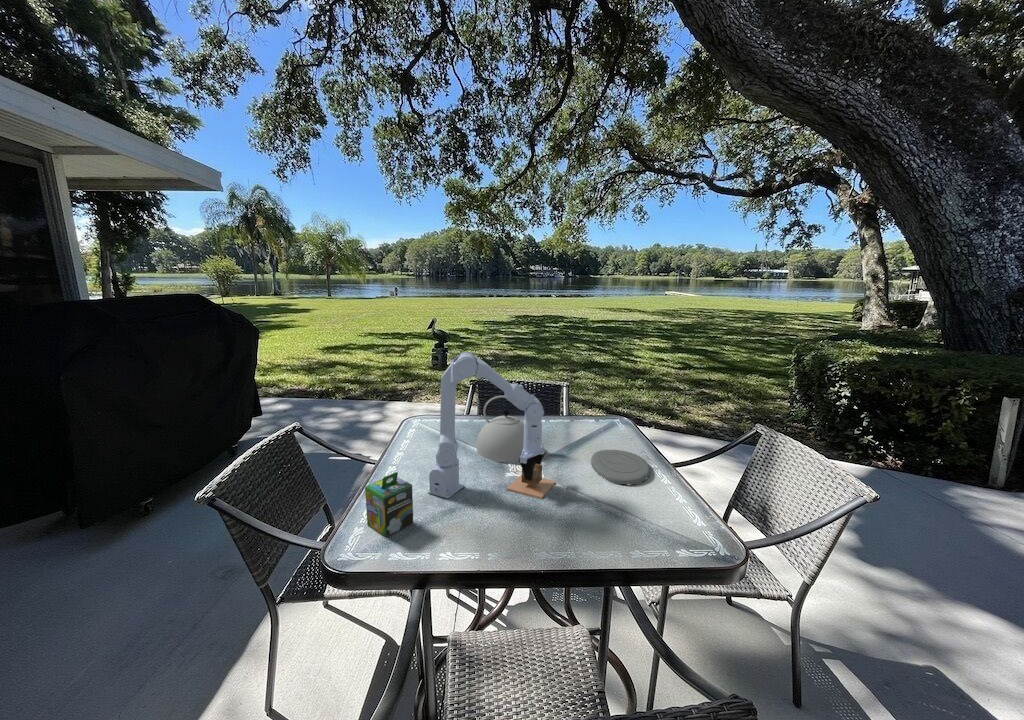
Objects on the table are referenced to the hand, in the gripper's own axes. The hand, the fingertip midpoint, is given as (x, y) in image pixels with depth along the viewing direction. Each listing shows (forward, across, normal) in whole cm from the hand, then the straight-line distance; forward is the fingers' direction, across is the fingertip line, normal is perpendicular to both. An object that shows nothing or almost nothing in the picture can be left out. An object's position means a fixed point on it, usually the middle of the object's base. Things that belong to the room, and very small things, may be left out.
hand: (531, 476), depth 137 cm
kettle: (+4, +23, +20) cm, 31 cm away
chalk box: (+4, -38, +25) cm, 46 cm away
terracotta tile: (+3, 0, 0) cm, 3 cm away
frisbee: (+4, +28, -23) cm, 36 cm away
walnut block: (+2, 0, 0) cm, 2 cm away
